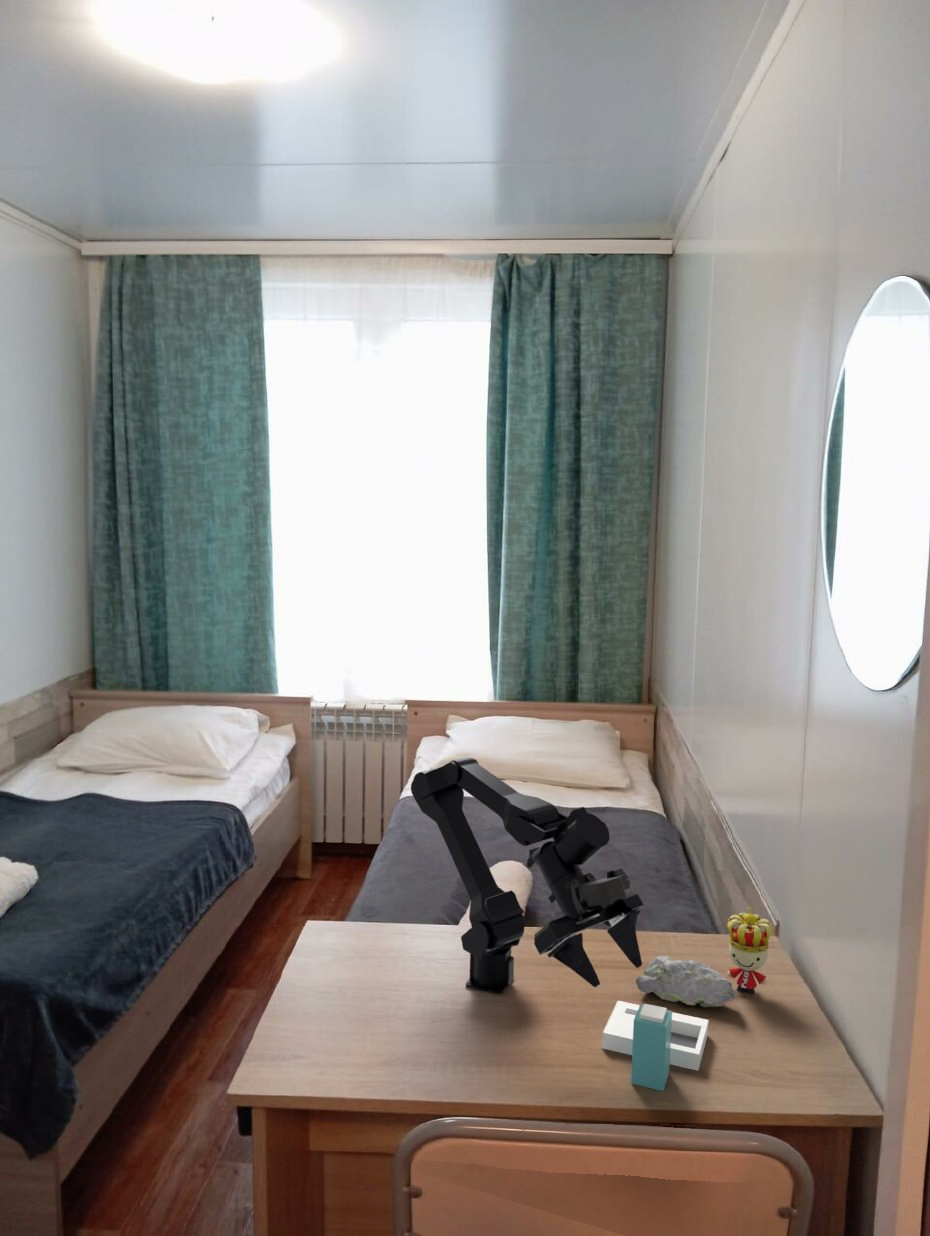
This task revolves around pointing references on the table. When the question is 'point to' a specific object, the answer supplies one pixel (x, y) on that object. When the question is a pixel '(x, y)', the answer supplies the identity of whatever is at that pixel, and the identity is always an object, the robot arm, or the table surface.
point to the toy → (748, 949)
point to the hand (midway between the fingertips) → (619, 976)
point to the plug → (651, 1046)
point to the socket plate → (684, 1035)
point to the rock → (685, 982)
